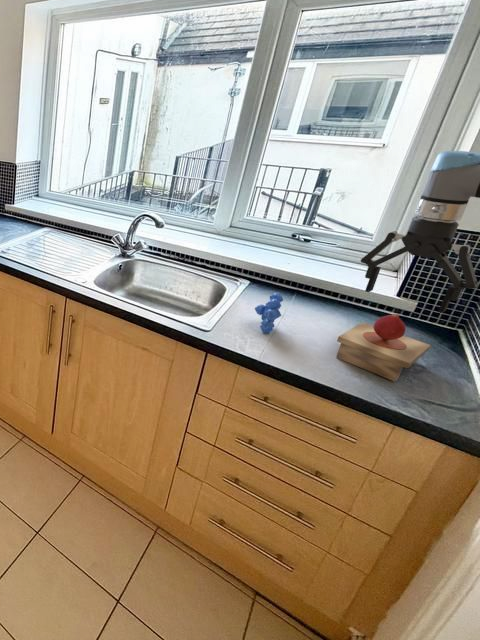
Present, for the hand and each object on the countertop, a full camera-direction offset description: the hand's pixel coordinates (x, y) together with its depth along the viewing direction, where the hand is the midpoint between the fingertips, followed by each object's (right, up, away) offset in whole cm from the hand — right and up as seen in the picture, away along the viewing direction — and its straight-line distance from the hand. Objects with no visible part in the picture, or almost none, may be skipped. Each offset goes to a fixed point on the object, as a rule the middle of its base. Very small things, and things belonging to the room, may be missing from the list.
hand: (403, 300), depth 106 cm
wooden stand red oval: (-1, -17, +6) cm, 18 cm away
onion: (-1, -11, +4) cm, 12 cm away
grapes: (-21, -11, +21) cm, 32 cm away
